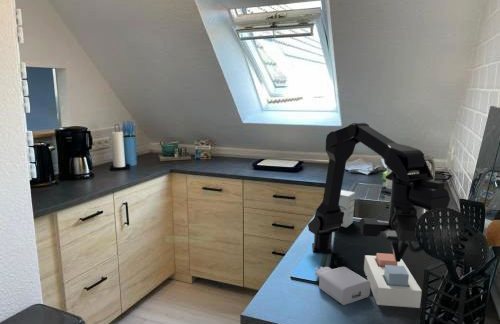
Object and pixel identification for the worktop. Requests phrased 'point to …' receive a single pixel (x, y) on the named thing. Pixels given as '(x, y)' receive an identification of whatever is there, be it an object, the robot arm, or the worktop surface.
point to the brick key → (385, 259)
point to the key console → (391, 293)
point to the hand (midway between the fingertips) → (397, 261)
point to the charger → (343, 284)
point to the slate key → (396, 276)
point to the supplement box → (347, 207)
